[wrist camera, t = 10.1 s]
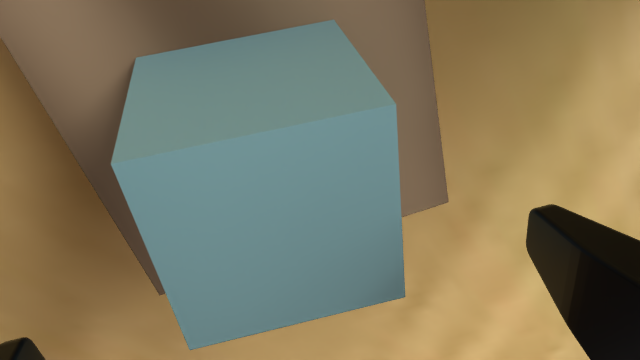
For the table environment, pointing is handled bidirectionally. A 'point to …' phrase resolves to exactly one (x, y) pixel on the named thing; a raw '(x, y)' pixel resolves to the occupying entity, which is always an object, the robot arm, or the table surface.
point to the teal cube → (263, 180)
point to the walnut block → (198, 29)
